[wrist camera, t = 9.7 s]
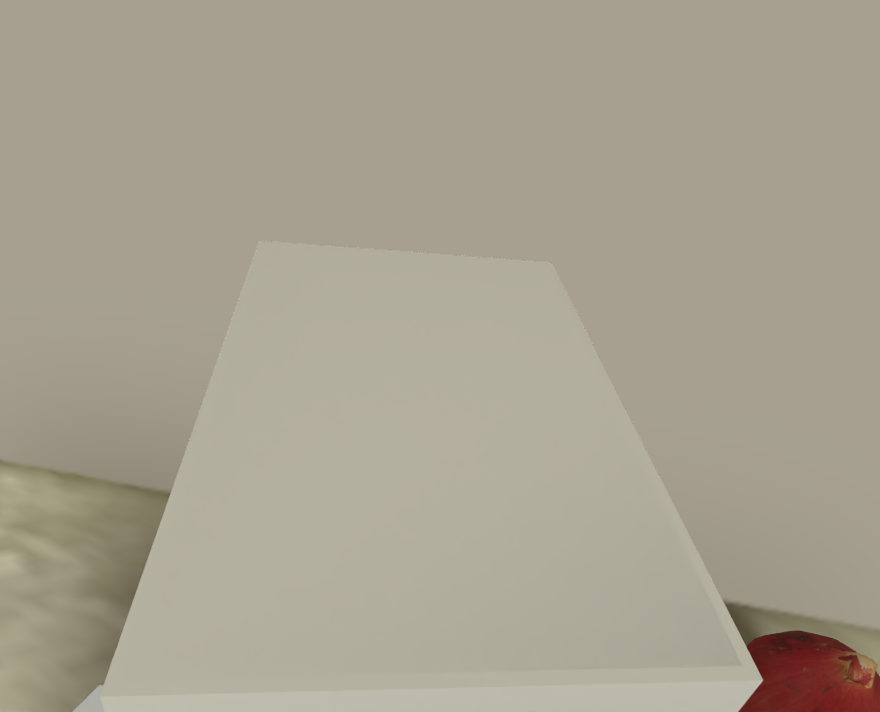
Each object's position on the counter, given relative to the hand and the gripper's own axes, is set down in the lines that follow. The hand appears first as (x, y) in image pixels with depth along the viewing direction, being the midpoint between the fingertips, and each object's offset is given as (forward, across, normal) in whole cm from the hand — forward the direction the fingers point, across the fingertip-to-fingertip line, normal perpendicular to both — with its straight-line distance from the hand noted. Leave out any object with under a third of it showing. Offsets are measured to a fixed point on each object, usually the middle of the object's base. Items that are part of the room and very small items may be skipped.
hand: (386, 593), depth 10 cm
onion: (+4, -17, +18) cm, 25 cm away
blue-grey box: (-1, 0, +6) cm, 6 cm away
